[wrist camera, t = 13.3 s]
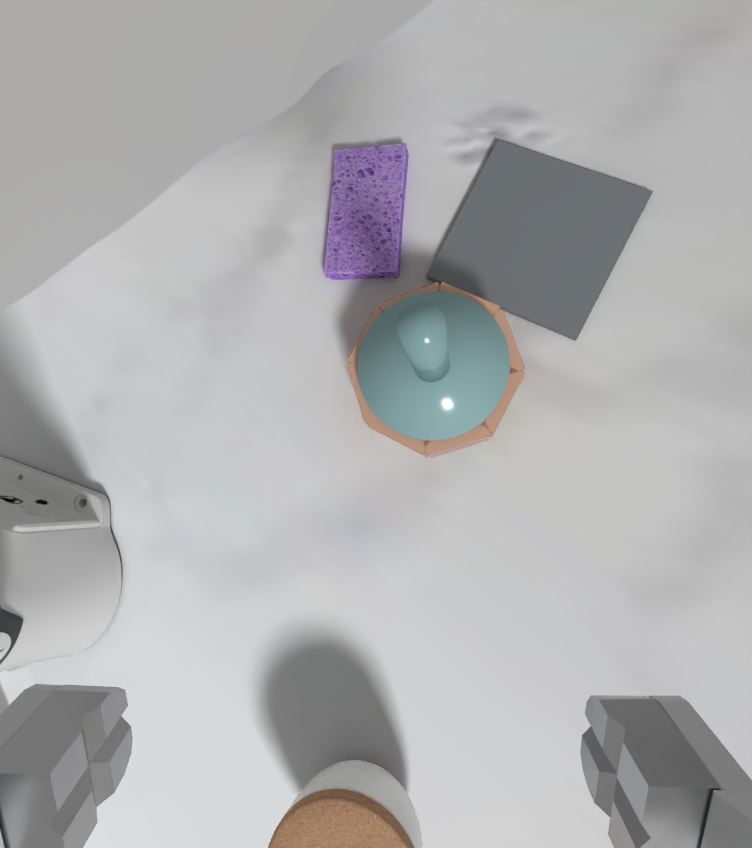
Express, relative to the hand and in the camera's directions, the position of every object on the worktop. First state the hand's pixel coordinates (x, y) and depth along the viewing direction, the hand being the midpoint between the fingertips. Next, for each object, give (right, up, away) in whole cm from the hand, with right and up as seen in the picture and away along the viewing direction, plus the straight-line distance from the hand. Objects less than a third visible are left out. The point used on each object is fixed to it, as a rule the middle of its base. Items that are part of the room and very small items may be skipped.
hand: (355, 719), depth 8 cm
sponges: (0, +25, +36) cm, 43 cm away
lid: (+5, +10, +27) cm, 29 cm away
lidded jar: (-1, -26, +29) cm, 39 cm away
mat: (+14, +22, +32) cm, 41 cm away
